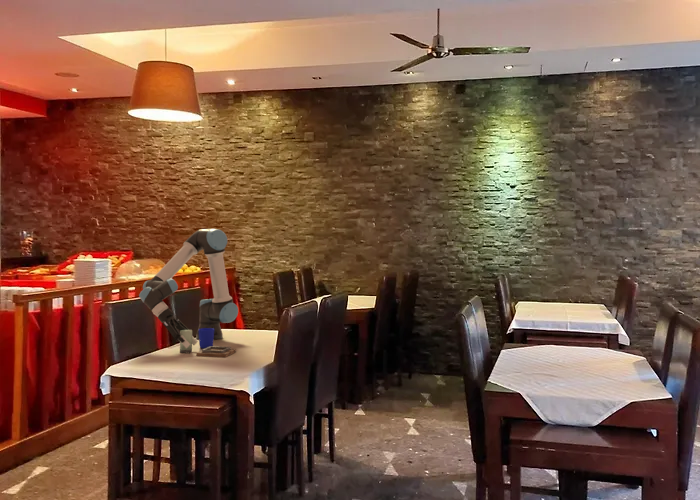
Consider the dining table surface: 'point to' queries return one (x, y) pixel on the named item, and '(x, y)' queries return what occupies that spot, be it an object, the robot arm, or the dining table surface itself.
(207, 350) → the socket board
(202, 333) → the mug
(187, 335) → the sleeve
